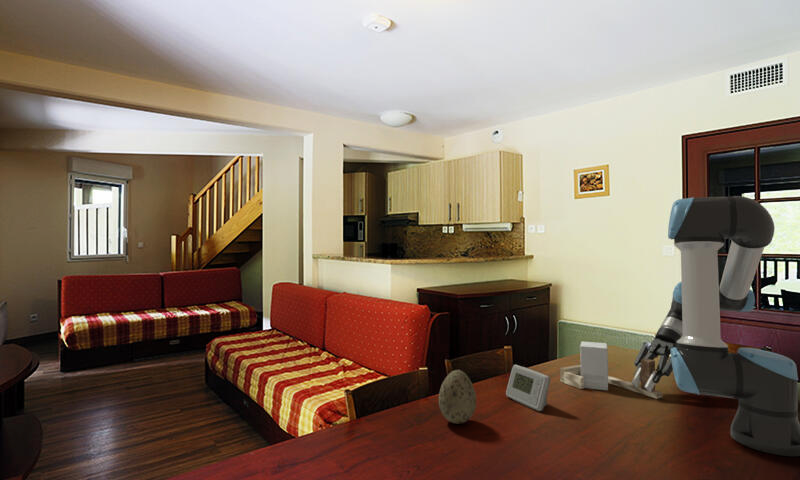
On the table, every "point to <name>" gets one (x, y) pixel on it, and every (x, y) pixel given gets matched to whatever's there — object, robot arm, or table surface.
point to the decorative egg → (457, 397)
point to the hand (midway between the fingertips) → (640, 387)
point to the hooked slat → (575, 379)
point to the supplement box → (594, 365)
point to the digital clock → (528, 387)
